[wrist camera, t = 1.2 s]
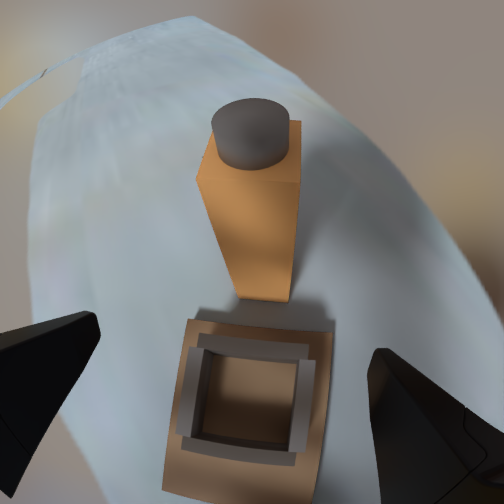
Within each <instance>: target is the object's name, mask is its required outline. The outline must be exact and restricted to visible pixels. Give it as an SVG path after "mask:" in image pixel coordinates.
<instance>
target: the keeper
mask: <svg viewBox="0 0 504 504" xmlns="http://www.w3.org/2000/svg"><path fill="white" fill-rule="evenodd" d="M332 336H333V333H327V332H310V331H296V330H283V329H271V328H261V327H251V326H242V325H233V324H225V323H217V322H209V321H202V320H195V319H188V320H187V325H186V330H185V335H184V341H183V346H182V352H181V357H180V363H179V368H178V374H177V380H176V386H175V392H174V399H173V405H172V412H171V419H170V426H169V433H168V440H167V448H166V456H165V465H164V473H163V483H162V490H163V491H166V492H170V493H173V494H177V495H180V496H184V497H188V498H192V499H196V500H200V501H205V502H209V503H214V504H311V503H312V498H313V493H314V488H315V483H316V478H317V472H318V466H319V460H320V454H321V448H322V441H323V434H324V426H325V418H326V409H327V400H328V390H329V379H330V367H331V353H332Z"/></svg>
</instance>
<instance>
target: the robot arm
mask: <svg viewBox="0 0 504 504" xmlns="http://www.w3.org/2000/svg"><path fill="white" fill-rule="evenodd" d="M100 337H101V332H100V328H99V324H98V320H97V316H96V314H95V313H93V312H89V311H82V312H78V313H74V314H71V315H67V316H63V317H60V318H56V319H52V320H49V321H45V322H41V323H37V324H34V325H30V326H26V327H23V328H19V329H15V330H11V331H7V332H4V333H0V490H1V491H2V492H4V494H6V495H7V496H8V497H9V498H12V497H13V495H14V493H15V491H16V489H17V487H18V485H19V482H20V480H21V478H22V476H23V474H24V472H25V470H26V468H27V466H28V464H29V463H30V460H31V458H32V456H33V454H34V452H35V451H36V449H37V447H38V445H39V443H40V442H41V440H42V438H43V436H44V434H45V433H46V431H47V429H48V427H49V426H50V424H51V422H52V420H53V418H54V417H55V415H56V414H57V412H58V410H59V409H60V407H61V406H62V404H63V402H64V401H65V399H66V397H67V396H68V394H69V393H70V391H71V389H72V388H73V386H74V385H75V383H76V382H77V380H78V378H79V377H80V375H81V374H82V372H83V370H84V368H85V367H86V365H87V363H88V361H89V359H90V357H91V355H92V353H93V351H94V350H95V348H96V346H97V344H98V342H99V340H100ZM367 380H368V393H369V410H370V422H371V428H372V434H373V440H374V447H375V454H376V461H377V469H378V477H379V486H380V495H381V504H504V433H503V432H501V431H499V430H498V429H496V428H495V427H493V426H492V425H490V424H489V423H487V422H486V421H484V420H483V419H482V418H480V417H479V416H477V415H476V414H475V413H473V412H472V411H471V410H470V409H468V408H467V407H466V408H465V406H464V405H463V404H462V403H460V402H459V401H458V400H456V399H455V398H454V397H452V396H451V395H450V394H448V393H447V392H446V391H445V390H443V389H442V388H441V387H439V386H438V385H437V384H435V383H434V382H433V381H431V380H430V379H429V378H427V377H426V376H425V375H423V374H422V373H421V372H420V371H418V370H417V369H416V368H414V367H413V366H412V365H410V364H409V363H408V362H406V361H405V360H404V359H402V358H401V357H400V356H398V355H397V354H396V353H394V352H393V351H392V350H390V349H389V348H377V349H375V351H374V353H373V356H372V359H371V362H370V365H369V368H368V373H367Z"/></svg>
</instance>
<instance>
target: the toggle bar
mask: <svg viewBox="0 0 504 504" xmlns="http://www.w3.org/2000/svg"><path fill="white" fill-rule="evenodd" d="M211 124H212V129H213V131H212V134H211V137H210V139H209V142H208V145H207V148H206V150H205V153H204V156H203V159H202V162H201V165H200V168H199V171H198V174H197V177H196V181H197V184H198V187H199V190H200V193H201V196H202V199H203V202H204V205H205V207H206V210H207V213H208V216H209V219H210V222H211V224H212V227H213V230H214V233H215V236H216V238H217V241H218V244H219V247H220V249H221V252H222V255H223V258H224V260H225V263H226V266H227V268H228V271H229V274H230V277H231V279H232V282H233V285H234V287H235V290H236V293H237V295H238V298H240V299H250V300H261V301H272V302H284V303H288V299H289V291H290V283H291V274H292V265H293V256H294V247H295V237H296V227H297V216H298V205H299V194H300V178H301V121H296V120H289V113H288V111H287V110H286V109H285V108H284V107H283V106H282V105H280V104H279V103H277V102H274V101H271V100H267V99H260V98H249V99H242V100H238V101H234V102H231V103H229V104H227V105H225V106H223V107H222V108H220V109H219V110H218V111H217V112H216V113H215V114H214V116H213V118H212V121H211Z"/></svg>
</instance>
